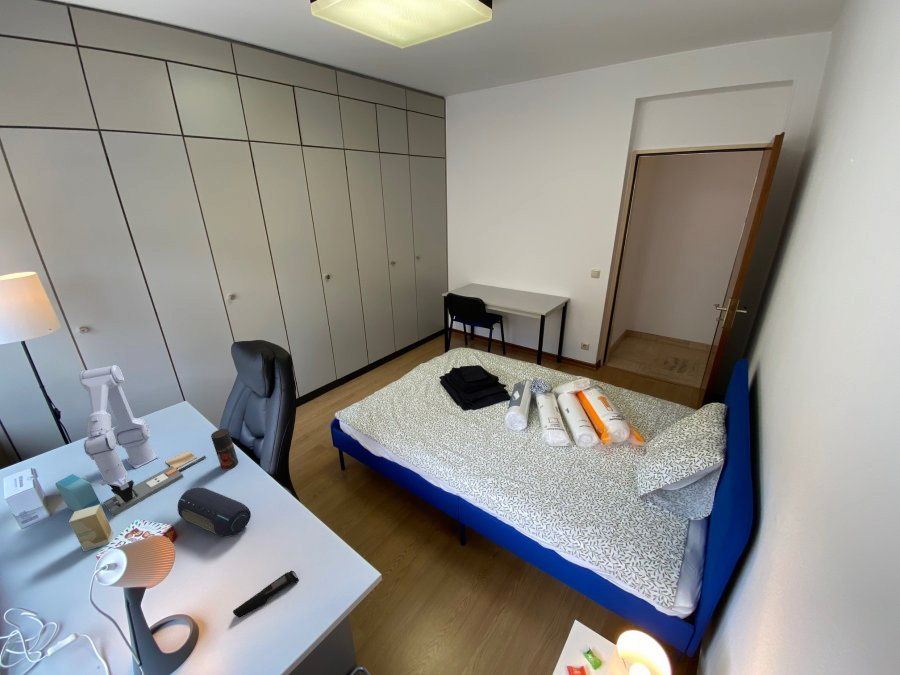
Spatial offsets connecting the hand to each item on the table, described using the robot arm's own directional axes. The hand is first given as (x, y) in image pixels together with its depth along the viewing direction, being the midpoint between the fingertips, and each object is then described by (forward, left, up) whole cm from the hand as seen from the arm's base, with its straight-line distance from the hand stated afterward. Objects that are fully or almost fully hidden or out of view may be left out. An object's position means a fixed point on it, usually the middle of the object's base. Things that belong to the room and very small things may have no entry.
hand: (125, 496), depth 127 cm
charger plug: (0, 0, -2) cm, 2 cm away
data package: (-8, -9, -2) cm, 12 cm away
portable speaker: (+37, +12, -2) cm, 39 cm away
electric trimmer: (+74, +7, -2) cm, 74 cm away
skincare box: (+13, -11, -2) cm, 17 cm away
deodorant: (+13, +29, -2) cm, 32 cm away
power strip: (0, +10, -2) cm, 11 cm away
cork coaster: (-7, +20, -2) cm, 21 cm away
